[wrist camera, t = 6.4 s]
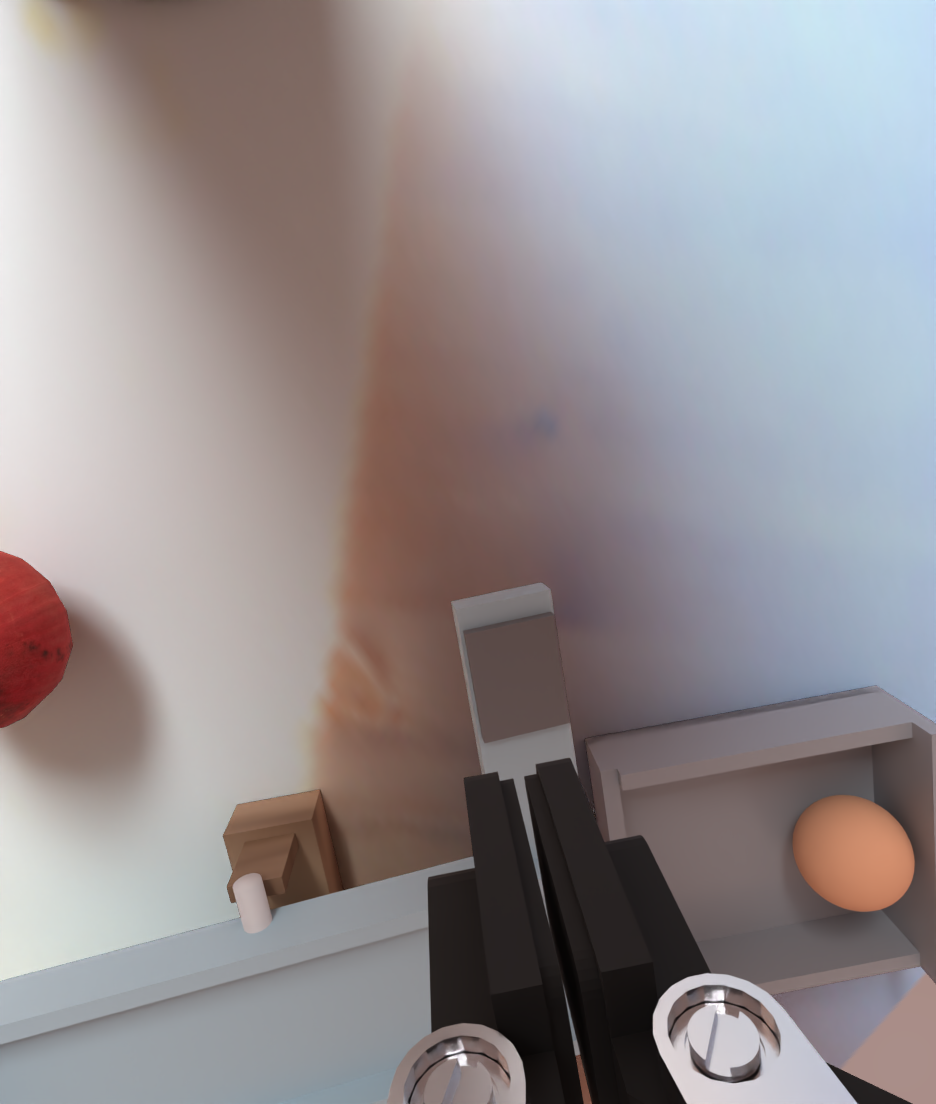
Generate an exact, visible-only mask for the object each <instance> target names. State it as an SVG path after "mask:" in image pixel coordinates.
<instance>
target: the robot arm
mask: <svg viewBox="0 0 936 1104" xmlns="http://www.w3.org/2000/svg"><path fill="white" fill-rule="evenodd" d="M524 780H525V787H526V792H527V798H528V804H529V810H530V816H531V822H532V827H533V833H534V839H535V845H536V851H537V857H538V862H539V868H540V874H541V880H542V886H543V891H544V897H545V903H546V909H547V914H546V910H545V906H544V902H543V898H542V894H541V890H540V886H539V881H538V877H537V873H536V869H535V865H534V861H533V857H532V853H531V849H530V845H529V841H528V836H527V832H526V828H525V824H524V820H523V816H522V812H521V808H520V804H519V800H518V796H517V791H516V787H515V783H514V779H513V778H512V779H507V780H502V781H500V779H499V775H498V772H492V773H487V774H482V775H477V776H472V777H467V778H464V785H465V793H466V801H467V809H468V817H469V825H470V834H471V842H472V850H473V858H474V866H475V868H471V869H466V870H461V871H456V872H451V873H446V874H441V875H436V876H431V877H428V883H427V891H428V928H429V964H430V1001H431V1034H429V1035H427V1036H425V1037H424V1038H422V1039H421V1040H420V1041H419V1042H418V1043H417V1044H416V1045H415V1046H413V1047H412V1048H411V1049H410V1050H409V1051H408V1052H407V1054H406V1055H405V1057H404V1058H403V1060H402V1061H401V1063H400V1064H399V1066H398V1067H397V1069H396V1072H395V1075H394V1078H393V1081H392V1084H391V1087H390V1090H389V1095H388V1101H387V1104H584V1103H583V1097H582V1091H581V1086H580V1080H579V1074H578V1068H577V1062H576V1056H575V1050H574V1044H573V1039H572V1033H571V1027H570V1021H569V1015H568V1009H567V1003H566V998H567V1002H568V1006H569V1010H570V1014H571V1019H572V1023H573V1027H574V1031H575V1035H576V1039H577V1043H578V1047H579V1051H580V1056H581V1060H582V1064H583V1068H584V1072H585V1076H586V1080H587V1084H588V1088H589V1093H590V1097H591V1101H592V1104H912V1103H910V1102H907V1101H906V1100H903V1099H901V1098H899V1097H897V1096H895V1095H893V1094H891V1093H889V1092H887V1091H884V1090H882V1089H880V1088H878V1087H876V1086H874V1085H872V1084H870V1083H868V1082H866V1081H864V1080H861V1079H859V1078H857V1077H855V1076H853V1075H851V1074H849V1073H847V1072H845V1071H843V1070H841V1069H839V1068H836V1067H834V1066H832V1065H830V1064H828V1063H826V1062H825V1061H824V1060H823V1059H822V1057H821V1056H820V1055H819V1053H818V1052H817V1051H816V1050H815V1048H814V1047H813V1046H812V1044H811V1043H810V1042H809V1041H808V1039H807V1038H806V1037H805V1035H804V1034H803V1033H802V1032H801V1030H800V1029H799V1028H798V1026H797V1025H796V1024H795V1022H794V1021H793V1020H792V1019H791V1017H790V1016H789V1015H788V1013H787V1012H786V1011H785V1010H784V1008H783V1007H782V1006H781V1005H780V1004H779V1003H778V1002H777V1001H776V1000H775V999H774V998H773V997H772V996H771V995H770V994H769V993H768V992H766V991H764V990H762V989H761V988H759V987H757V986H756V985H754V984H752V983H751V982H749V981H746V980H743V979H740V978H737V977H734V976H730V975H725V974H712V973H711V971H710V969H709V967H708V965H707V963H706V961H705V959H704V957H703V955H702V953H701V951H700V949H699V947H698V945H697V943H696V941H695V939H694V937H693V935H692V933H691V931H690V929H689V927H688V925H687V923H686V921H685V919H684V917H683V915H682V913H681V911H680V909H679V907H678V904H677V902H676V900H675V898H674V896H673V894H672V892H671V890H670V888H669V886H668V884H667V882H666V880H665V878H664V876H663V874H662V872H661V870H660V868H659V866H658V864H657V862H656V860H655V858H654V856H653V854H652V852H651V850H650V848H649V846H648V844H647V842H646V840H645V839H644V837H643V836H641V835H637V836H632V837H627V838H622V839H617V840H612V841H607V842H604V840H603V837H602V835H601V832H600V830H599V827H598V825H597V822H596V820H595V817H594V815H593V812H592V810H591V807H590V805H589V802H588V800H587V798H586V795H585V793H584V790H583V788H582V785H581V783H580V780H579V778H578V775H577V773H576V770H575V768H574V765H573V763H572V761H571V759H570V758H564V759H559V760H554V761H549V762H544V763H539V764H536V774H533V775H528V776H524ZM547 915H548V918H547ZM548 920H549V922H548ZM549 926H550V927H549ZM563 986H564V987H563ZM564 990H565V992H564ZM565 994H566V998H565Z"/></svg>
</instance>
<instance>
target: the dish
mask: <svg viewBox="0 0 936 1104" xmlns="http://www.w3.org/2000/svg"><path fill="white" fill-rule="evenodd" d="M585 742H586V749H587V756H588V763H589V770H590V777H591V784H592V791H593V798H594V805H595V812H596V819H597V825H598V827H599V830H600V832H601V835H602V837H603V840H604V842H607V841H612V840H617V839H622V838H627V837H632V836H637V835H641V836H643V837H644V839H645V840H646V842H647V844H648V846H649V848H650V850H651V852H652V854H653V856H654V858H655V860H656V862H657V864H658V866H659V868H660V870H661V872H662V874H663V876H664V878H665V880H666V882H667V884H668V886H669V888H670V890H671V892H672V894H673V896H674V898H675V900H676V902H677V904H678V907H679V909H680V911H681V913H682V915H683V917H684V919H685V921H686V923H687V925H688V927H689V929H690V931H691V933H692V935H693V937H694V939H695V941H696V943H697V945H698V947H699V949H700V951H701V953H702V955H703V957H704V959H705V961H706V963H707V965H708V967H709V969H710V971H711V973H712V974H725V975H730V976H734V977H737V978H740V979H743V980H746V981H749V982H751V983H752V984H754V985H756V986H757V987H759V988H761V989H762V990H764V991H766V992H768V993H769V994H770V995H774V994H779V993H784V992H790V991H795V990H800V989H805V988H810V987H816V986H821V985H826V984H831V983H837V982H842V981H847V980H852V979H857V978H863V977H868V976H873V975H878V974H883V973H889V972H894V971H899V970H904V969H910V968H915V967H920V966H921V967H922V969H923V970H924V971H925V972H926V973H927V974H928V975H929V976H930V978H931V979H932V980H933V981H934V982H935V983H936V723H934V722H933V721H931V720H930V719H928V718H926V717H925V716H923V715H922V714H920V713H919V712H917V711H916V710H914V709H912V708H911V707H909V706H908V705H906V704H905V703H903V702H901V701H900V700H898V699H897V698H895V697H894V696H892V695H890V694H889V693H887V692H886V691H884V690H883V689H881V688H879V687H878V686H871V687H865V688H860V689H854V690H849V691H843V692H838V693H832V694H827V695H821V696H816V697H811V698H805V699H800V700H794V701H789V702H783V703H778V704H772V705H767V706H761V707H756V708H750V709H745V710H739V711H734V712H728V713H723V714H717V715H712V716H706V717H701V718H696V719H690V720H685V721H679V722H674V723H668V724H663V725H657V726H652V727H646V728H641V729H635V730H630V731H624V732H619V733H613V734H608V735H602V736H597V737H591V738H586V739H585ZM833 795H851V796H857V797H861V798H864V799H867V800H870V801H872V802H874V803H876V804H877V805H879V806H881V807H882V808H884V809H885V810H887V811H888V812H889V813H890V814H891V815H892V816H893V817H894V818H895V819H896V820H897V821H898V822H899V823H900V825H901V826H902V827H903V829H904V830H905V832H906V834H907V836H908V838H909V840H910V842H911V845H912V848H913V852H914V859H915V867H914V875H913V879H912V882H911V884H910V886H909V888H908V890H907V891H906V892H905V894H904V895H903V896H902V897H901V898H900V899H899V900H898V901H897V902H895V903H894V904H892V905H890V906H888V907H886V908H883V909H881V910H876V911H870V912H859V911H853V910H848V909H844V908H842V907H839V906H837V905H834V904H832V903H830V902H829V901H827V900H825V899H824V898H823V897H821V896H820V895H819V894H818V893H816V892H815V891H814V890H813V889H812V888H811V887H810V885H809V884H808V883H807V882H806V881H805V879H804V878H803V876H802V874H801V873H800V871H799V869H798V866H797V864H796V861H795V858H794V853H793V847H792V841H793V832H794V828H795V825H796V823H797V821H798V819H799V817H800V815H801V814H802V813H803V812H804V811H805V809H806V808H808V807H809V806H810V805H811V804H813V803H814V802H816V801H818V800H820V799H822V798H825V797H829V796H833Z"/></svg>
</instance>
